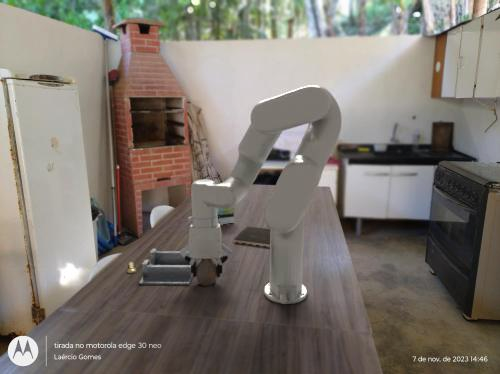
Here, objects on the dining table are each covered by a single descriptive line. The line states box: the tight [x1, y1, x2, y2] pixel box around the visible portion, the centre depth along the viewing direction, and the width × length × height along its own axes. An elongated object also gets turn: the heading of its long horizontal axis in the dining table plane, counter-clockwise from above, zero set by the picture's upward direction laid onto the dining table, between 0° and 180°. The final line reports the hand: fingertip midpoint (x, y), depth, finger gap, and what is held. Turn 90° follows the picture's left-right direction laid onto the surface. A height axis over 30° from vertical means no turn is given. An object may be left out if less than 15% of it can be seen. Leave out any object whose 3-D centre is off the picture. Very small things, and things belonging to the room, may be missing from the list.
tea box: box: [217, 207, 235, 224], centre depth 175 cm, size 15×10×15 cm, turn 22°
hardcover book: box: [233, 225, 270, 248], centre depth 153 cm, size 16×23×2 cm
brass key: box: [127, 261, 137, 274], centre depth 128 cm, size 7×3×1 cm, turn 19°
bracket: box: [138, 248, 199, 286], centre depth 126 cm, size 20×16×5 cm
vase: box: [195, 259, 218, 287], centre depth 117 cm, size 7×7×9 cm
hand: (206, 274), depth 117 cm, fingers closed on vase, 6 cm apart
